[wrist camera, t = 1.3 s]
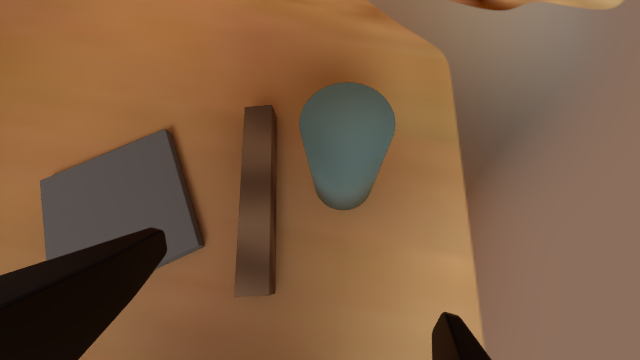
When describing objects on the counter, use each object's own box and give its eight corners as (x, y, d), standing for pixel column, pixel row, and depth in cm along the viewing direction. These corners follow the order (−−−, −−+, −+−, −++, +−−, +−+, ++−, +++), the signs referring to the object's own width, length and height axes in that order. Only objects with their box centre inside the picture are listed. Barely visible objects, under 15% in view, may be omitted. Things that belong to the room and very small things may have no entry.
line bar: (275, 293, 20) (268, 295, 19) (243, 294, 21) (234, 297, 19) (276, 117, 26) (271, 105, 24) (251, 119, 26) (244, 107, 24)
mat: (204, 246, 22) (198, 245, 21) (63, 311, 21) (50, 313, 20) (171, 133, 26) (164, 128, 25) (51, 184, 25) (39, 180, 24)
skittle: (381, 195, 23) (413, 140, 13) (329, 219, 22) (323, 181, 13) (355, 148, 24) (366, 69, 15) (306, 170, 24) (285, 104, 14)
